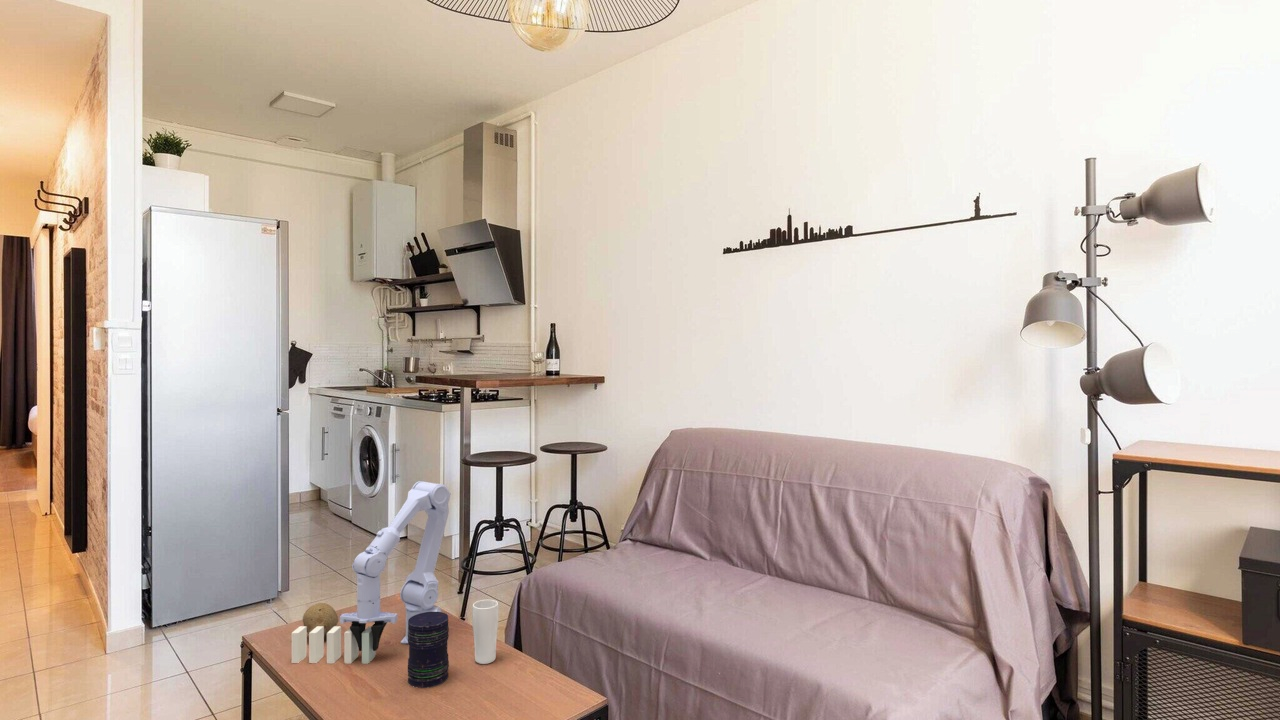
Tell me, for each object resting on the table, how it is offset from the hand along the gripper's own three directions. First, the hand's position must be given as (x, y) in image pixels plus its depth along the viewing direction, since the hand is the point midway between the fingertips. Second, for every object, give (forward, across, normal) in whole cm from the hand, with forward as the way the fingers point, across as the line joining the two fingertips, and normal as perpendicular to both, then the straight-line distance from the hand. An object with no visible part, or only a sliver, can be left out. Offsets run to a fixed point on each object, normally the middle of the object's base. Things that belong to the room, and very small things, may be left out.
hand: (368, 649), depth 178 cm
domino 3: (+3, -9, 0) cm, 10 cm away
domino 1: (+3, -18, 0) cm, 19 cm away
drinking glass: (+3, +31, 0) cm, 31 cm away
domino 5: (+3, 0, 0) cm, 3 cm away
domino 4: (+3, -5, 0) cm, 5 cm away
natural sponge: (+3, -19, +14) cm, 23 cm away
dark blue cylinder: (+3, +19, -10) cm, 22 cm away
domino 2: (+3, -14, 0) cm, 14 cm away
